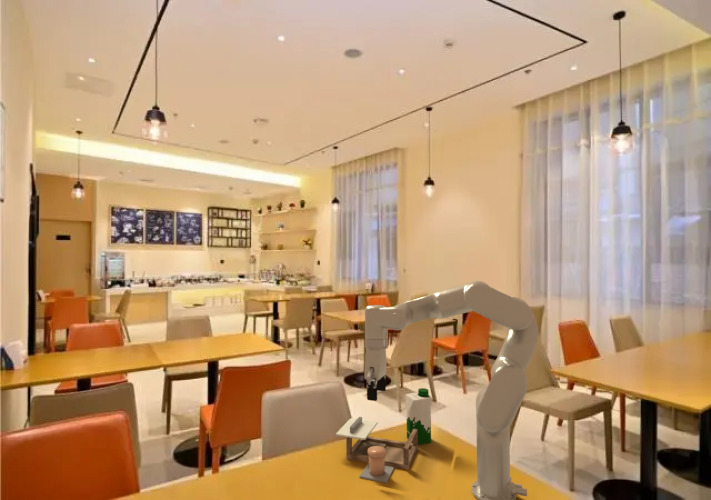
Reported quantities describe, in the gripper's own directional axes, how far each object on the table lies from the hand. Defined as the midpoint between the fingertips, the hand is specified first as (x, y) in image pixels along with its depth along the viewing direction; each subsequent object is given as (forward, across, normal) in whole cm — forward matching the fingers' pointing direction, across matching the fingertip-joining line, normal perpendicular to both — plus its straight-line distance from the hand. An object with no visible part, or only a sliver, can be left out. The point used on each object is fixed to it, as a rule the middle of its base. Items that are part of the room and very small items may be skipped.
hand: (376, 395), depth 132 cm
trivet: (+26, 0, 0) cm, 26 cm away
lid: (+18, -13, -12) cm, 25 cm away
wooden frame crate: (+26, -14, -2) cm, 30 cm away
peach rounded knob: (+25, 0, 0) cm, 25 cm away
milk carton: (+26, -28, +8) cm, 40 cm away
